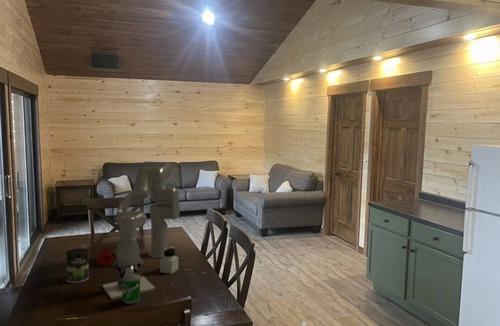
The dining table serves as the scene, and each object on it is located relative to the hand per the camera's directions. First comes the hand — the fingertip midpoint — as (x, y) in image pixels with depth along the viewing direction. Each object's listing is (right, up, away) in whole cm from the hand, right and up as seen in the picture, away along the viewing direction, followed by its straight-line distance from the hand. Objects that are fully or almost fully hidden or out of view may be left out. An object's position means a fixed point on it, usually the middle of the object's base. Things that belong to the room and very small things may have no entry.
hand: (128, 278), depth 186 cm
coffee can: (-28, -3, +10) cm, 30 cm away
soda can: (+5, -6, -13) cm, 15 cm away
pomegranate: (-22, -2, +31) cm, 38 cm away
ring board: (0, -5, 0) cm, 5 cm away
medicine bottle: (+14, -3, +23) cm, 28 cm away
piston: (0, -2, 0) cm, 2 cm away
